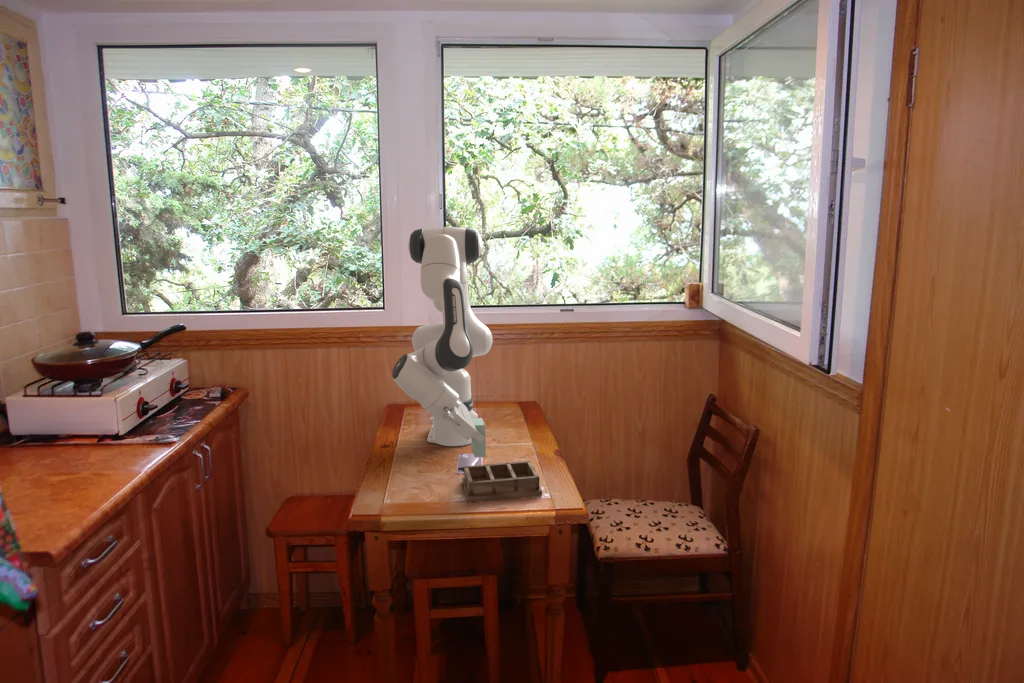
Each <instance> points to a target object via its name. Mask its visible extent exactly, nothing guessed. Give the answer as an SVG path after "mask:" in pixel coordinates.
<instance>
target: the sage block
mask: <svg viewBox="0 0 1024 683" xmlns="http://www.w3.org/2000/svg"><path fill="white" fill-rule="evenodd" d="M472 421H473V423H474V425H475V428H476V430H477V431H478V432H480V433H481V434H482V435H483V436H484V440H483V441H482V442H479V441H478V440H477V439H475V438H473V437H471V442H472V443H471V452H472V454H474V457H475V458H476V457H482V458H486V457H487V455H486V454H487V450H486V446H487V445H486V424H485V422H484V420H483V417H478V418H473V419H472Z"/></svg>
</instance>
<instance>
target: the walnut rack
mask: <svg viewBox="0 0 1024 683" xmlns="http://www.w3.org/2000/svg"><path fill="white" fill-rule="evenodd" d="M461 479H462V485H464V486H463V489H464V491H465V496H466V495H467V496H466V498H467V502H468V503H469V502H472V503H480V502H479V501H483V502H491V501H493V502H494V501H501V500H503V499H504V500H513V499H522V498H523V497H524V498H533V497H532V496H535V497H542V496H543V490H542V488H541V486H540V476H539V474H538V473H537V471H536V469H535V467H534V465H533V464H532V462H531V460H524V461H523V460H522V461H511V462H502V463H501V462H500V463H490V464H482V465H476V466H464V474H463V476H462V478H461ZM541 495H542V496H541ZM524 498H523V499H524Z"/></svg>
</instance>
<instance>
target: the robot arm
mask: <svg viewBox="0 0 1024 683" xmlns="http://www.w3.org/2000/svg"><path fill="white" fill-rule="evenodd" d="M483 246H484V245H483V239H482V237H481V234H480V232H479V230H478V229H476V228H474V227H470V226H469V227H468V226H467V227H466V228H465V227H459V226H458V227H457V226H444V227H433V228H418V229H414V230H413V232H411V234H410V237H409V239H408V244H407V248H408V252H409V255H410V258H411V260H413V262H415V263H418V264H419V265H420V264H421V266H420V287H421V291H422V293H423V294H424V295H425V297H427V298H428V299H430V300H432V301H433V305H434V308H436V310H437V311H438V312H440V313H442V322H443V323H430V324H425V325H421V326H418V327H417V328H416V329H415V330H414V331H413V334H412V337H411V344H412V348H413V350H414V351H412V352H410V353H404V354H403V355H402V356H400V358H398V360H397V361H396V363H395V364H394V366H393V368H392V374H391V375H392V379H393V381H394V382H395V384H396V385H397V386H398V387H399V388H400V389H401V391H403V392H404V393H405V394H407V396H408V397H410V398H411V399H412V400H415V401H416V402H418V403H419V404H420V406H421V408H423V409H424V410H425V411H427V413H429V414H430V415H431V417H430V424H431V427H430V429H429V433H428V436H427V437H426V438H427V439H426V442H428V443H433V444H437V445H440V446H444V447H460V446H461V447H462V446H467V445H472V442H471V437H473V438H475V439H477V440H478V441H479V442H482V441H483V440H484V436H483V435H482V434H481V433H480V432H478V431H477V430H476V428H475V425H474V423H473V421H472V419H473V418H479V415H478V413H476V412H475V410H473V408H474V407H473V406H474V401H473V397H472V381H471V380H472V378H471V376H470V373H469V372H468V371H467V370H466V369H465V368H466V367H468V365H469V364H470V363H471V362H472V359H473V358H475V357H481V356H485V355H487V354H488V353H489V352H490V351H491V348H492V346H493V342H494V341H493V334H492V332H491V330H490V328H489V327H488V326H487V325H486V324H484V323H483V322H481V320H479V318H477V317H476V315H475V313H474V312H473V310H472V308H471V304H470V299H469V298H470V297H469V287H468V286H469V282H468V278H469V277H468V270H467V269H468V268H467V265H468V266H470V265H471V264H472V263H475V262H477V261H478V260H479V259H480V257H481V254H482V252H483Z"/></svg>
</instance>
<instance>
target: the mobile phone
mask: <svg viewBox="0 0 1024 683" xmlns="http://www.w3.org/2000/svg"><path fill="white" fill-rule="evenodd" d="M456 464H457V466H456V474H457V473H459V475H461V474H460V473H464V466H476V465H483V457H476V458H475V457H474V454H473V453H460V454H458V456H457V463H456Z"/></svg>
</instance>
